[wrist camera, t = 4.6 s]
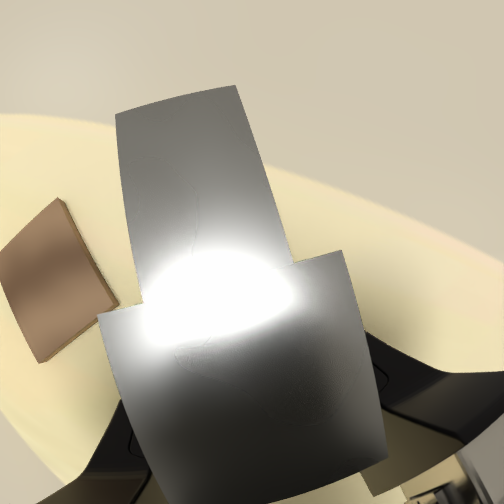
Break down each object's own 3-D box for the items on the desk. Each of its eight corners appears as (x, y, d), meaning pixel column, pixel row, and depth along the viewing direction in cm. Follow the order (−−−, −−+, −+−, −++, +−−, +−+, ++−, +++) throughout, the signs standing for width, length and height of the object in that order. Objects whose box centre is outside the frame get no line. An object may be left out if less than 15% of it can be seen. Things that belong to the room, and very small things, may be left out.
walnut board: (119, 304, 16) (113, 304, 15) (46, 361, 15) (38, 363, 14) (64, 202, 17) (57, 197, 16) (0, 261, 16) (-8, 259, 15)
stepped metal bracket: (270, 350, 16) (388, 457, 3) (211, 366, 16) (177, 518, 3) (239, 242, 17) (275, 79, 4) (181, 257, 17) (77, 128, 4)
